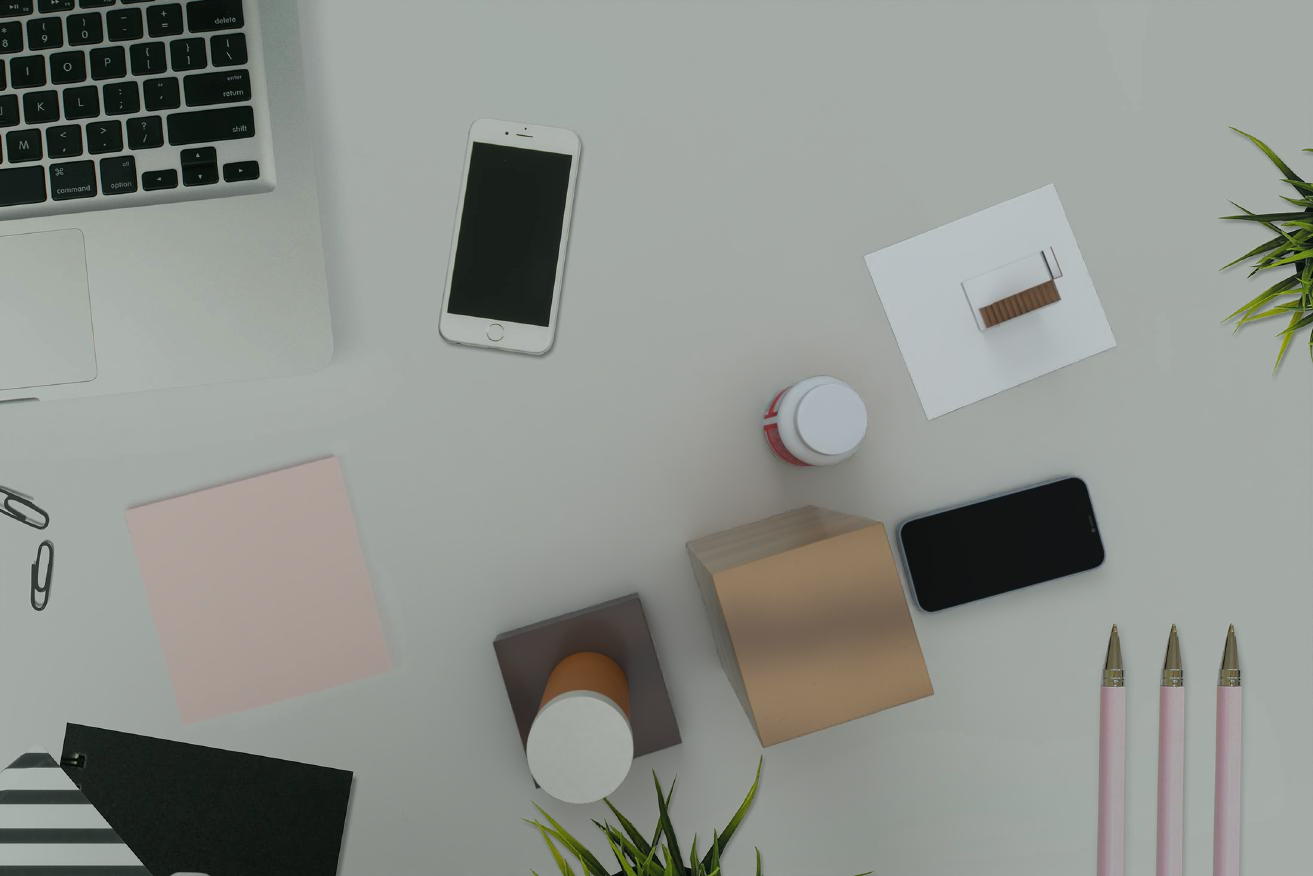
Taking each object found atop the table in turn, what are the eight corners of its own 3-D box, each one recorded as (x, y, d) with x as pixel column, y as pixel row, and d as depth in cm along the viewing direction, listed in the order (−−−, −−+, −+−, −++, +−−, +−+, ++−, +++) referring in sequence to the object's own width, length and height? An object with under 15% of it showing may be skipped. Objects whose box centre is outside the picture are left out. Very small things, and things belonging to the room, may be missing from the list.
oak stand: (848, 630, 73) (935, 694, 53) (723, 669, 73) (763, 748, 53) (810, 504, 73) (883, 521, 53) (685, 542, 73) (710, 574, 53)
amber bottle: (640, 722, 69) (646, 785, 56) (558, 747, 69) (543, 817, 55) (616, 639, 69) (616, 683, 56) (534, 664, 69) (513, 714, 56)
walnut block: (679, 731, 72) (682, 743, 69) (539, 775, 72) (535, 789, 69) (637, 591, 73) (638, 597, 70) (497, 634, 72) (492, 642, 69)
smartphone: (895, 522, 73) (1084, 471, 73) (891, 521, 73) (1078, 471, 74) (920, 617, 72) (1109, 566, 73) (917, 615, 73) (1103, 564, 74)
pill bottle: (836, 469, 73) (875, 471, 62) (757, 462, 73) (781, 462, 62) (843, 389, 74) (883, 376, 62) (764, 381, 73) (790, 367, 62)
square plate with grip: (1052, 182, 75) (1087, 160, 69) (1117, 345, 74) (1157, 336, 69) (863, 256, 74) (883, 239, 68) (928, 420, 74) (953, 417, 68)
